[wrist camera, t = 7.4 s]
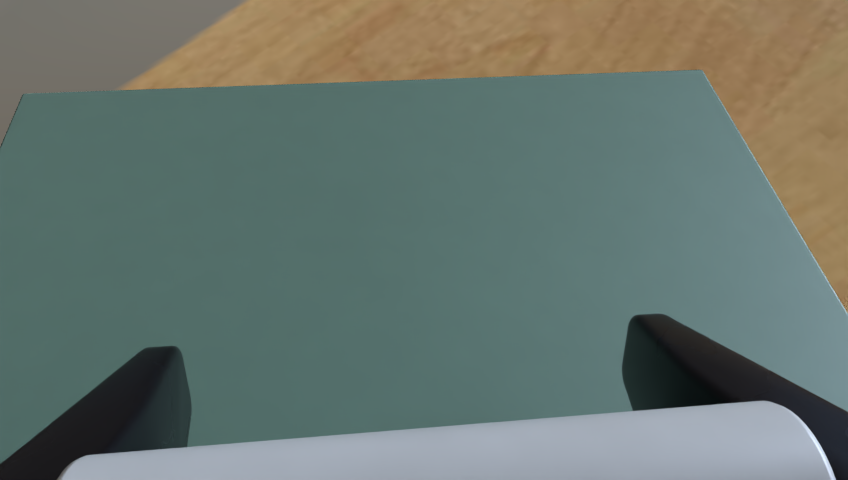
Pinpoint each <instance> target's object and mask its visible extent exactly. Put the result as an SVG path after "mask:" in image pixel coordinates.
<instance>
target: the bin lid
mask: <svg viewBox="0 0 848 480" xmlns="http://www.w3.org/2000/svg"><path fill="white" fill-rule="evenodd" d="M656 313H661V314H665V315H667V316H669V317H671V318H673V319H674V320H676V321H678V322H680V323H682V324H684V325H686V326H688V327H690V328H691V329H693V330H695V331H697V332H699V333H701V334H703V335H705V336H706V337H708V338H710V339H712V340H714V341H716V342H718V343H720V344H721V345H723V346H725V347H727V348H729V349H731V350H733V351H735V352H737V353H738V354H740V355H742V356H744V357H746V358H748V359H750V360H752V361H753V362H755V363H757V364H759V365H761V366H763V367H765V368H767V369H768V370H770V371H772V372H774V373H776V374H778V375H780V376H782V377H784V378H785V379H787V380H789V381H791V382H793V383H795V384H797V385H799V386H800V387H802V388H804V389H806V390H808V391H810V392H812V393H814V394H816V395H817V396H819V397H821V398H823V399H825V400H827V401H829V402H831V403H832V404H834V405H836V406H838V407H840V408H842V409H844V410H846V411H847V412H848V313H847V312H846V310H845V308H844V307H843V305H842V303H841V302H840V300H839V298H838V297H837V295H836V293H835V292H834V290H833V288H832V287H831V285H830V283H829V282H828V280H827V278H826V277H825V275H824V273H823V272H822V270H821V268H820V267H819V265H818V263H817V262H816V260H815V258H814V256H813V255H812V253H811V251H810V250H809V248H808V246H807V245H806V243H805V241H804V240H803V238H802V236H801V235H800V233H799V231H798V230H797V228H796V226H795V225H794V223H793V221H792V220H791V218H790V216H789V215H788V213H787V211H786V210H785V208H784V206H783V205H782V203H781V201H780V200H779V198H778V196H777V194H776V193H775V191H774V189H773V188H772V186H771V184H770V183H769V181H768V179H767V178H766V176H765V174H764V173H763V171H762V169H761V168H760V166H759V164H758V163H757V161H756V159H755V158H754V156H753V154H752V153H751V151H750V149H749V148H748V146H747V144H746V143H745V141H744V139H743V138H742V136H741V134H740V133H739V131H738V129H737V127H736V126H735V124H734V122H733V121H732V119H731V117H730V116H729V114H728V112H727V111H726V109H725V107H724V106H723V104H722V102H721V101H720V99H719V97H718V96H717V94H716V92H715V91H714V89H713V87H712V86H711V84H710V82H709V81H708V79H707V77H706V76H705V74H704V72H703V71H702V70H682V71H654V72H625V73H597V74H569V75H541V76H513V77H484V78H456V79H428V80H400V81H372V82H343V83H315V84H287V85H259V86H231V87H202V88H174V89H146V90H118V91H91V92H63V93H62V92H61V93H33V94H23V95H22V97H21V99H20V102H19V104H18V107H17V109H16V111H15V114H14V116H13V118H12V121H11V123H10V125H9V128H8V130H7V132H6V135H5V137H4V139H3V142H2V144H1V147H0V464H1V463H2V462H3V461H4V460H6V459H7V458H8V457H9V456H11V455H12V454H13V453H14V452H16V451H17V450H18V449H19V448H21V447H22V446H23V445H24V444H26V443H27V442H28V441H29V440H31V439H32V438H33V437H34V436H35V435H37V434H38V433H39V432H40V431H42V430H43V429H44V428H45V427H47V426H48V425H49V424H50V423H52V422H53V421H54V420H55V419H57V418H58V417H59V416H60V415H62V414H63V413H64V412H65V411H66V410H68V409H69V408H70V407H71V406H73V405H74V404H75V403H76V402H78V401H79V400H80V399H81V398H83V397H84V396H85V395H86V394H88V393H89V392H90V391H91V390H93V389H94V388H95V387H96V386H98V385H99V384H100V383H101V382H102V381H104V380H105V379H106V378H107V377H109V376H110V375H111V374H112V373H114V372H115V371H116V370H117V369H119V368H120V367H121V366H122V365H124V364H125V363H126V362H127V361H129V360H130V359H131V358H132V357H133V356H135V355H136V354H137V353H138V352H140V351H141V350H143V349H144V348H147V347H161V346H176V347H178V348H179V349H180V351H181V353H182V356H183V361H184V366H185V371H186V376H187V381H188V385H189V390H190V395H191V405H192V411H191V422H190V429H189V437H188V445H187V447H182V448H170V449H157V450H145V451H132V452H120V453H108V454H95V455H86V456H83V457H81V458H79V459H77V460H75V461H73V462H72V463H70V464H69V465H68V466H67V467H66V468H65V469H64V470H63V471H62V473H61V474H60V476H59V477H58V479H57V480H836V478H835V476H834V473H833V470H832V468H831V466H830V463H829V461H828V459H827V457H826V455H825V453H824V451H823V449H822V447H821V445H820V444H819V442H818V441H817V439H816V438H815V436H814V434H813V433H812V432H811V431H810V429H809V428H808V427H807V425H806V424H805V423H804V422H803V421H802V420H801V419H800V418H799V417H798V416H797V415H795V414H794V413H793V412H792V411H790V410H789V409H787V408H785V407H783V406H781V405H778V404H775V403H772V402H769V401H752V402H739V403H727V404H715V405H702V406H690V407H677V408H665V409H653V410H640V411H633V410H632V406H631V403H630V400H629V397H628V394H627V391H626V388H625V385H624V382H623V377H622V362H623V355H624V349H625V343H626V336H627V330H628V324H629V322H630V320H631V318H632V317H633V316H635V315H642V314H656Z"/></svg>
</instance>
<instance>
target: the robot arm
mask: <svg viewBox="0 0 848 480" xmlns="http://www.w3.org/2000/svg"><path fill="white" fill-rule="evenodd" d="M622 377H623V382H624V385H625V388H626V391H627V394H628V397H629V400H630V403H631V406H632V410H633V411H640V410H653V409H665V408H677V407H690V406H702V405H715V404H727V403H739V402H752V401H769V402H772V403H775V404H778V405H781V406H783V407H785V408H787V409H789V410H790V411H792V412H793V413H794V414H795V415H797V416H798V417H799V418H800V419H801V420H802V421H803V422H804V423H805V424H806V425H807V427H808V428H809V429H810V431H811V432H812V433H813V434H814V436H815V438H816V439H817V441H818V442H819V444H820V445H821V447H822V449H823V451H824V453H825V455H826V457H827V459H828V461H829V463H830V466H831V468H832V470H833V473H834V476H835V478H836V480H848V412H847V411H846V410H844V409H842V408H840V407H838V406H836V405H834V404H832V403H831V402H829V401H827V400H825V399H823V398H821V397H819V396H817V395H816V394H814V393H812V392H810V391H808V390H806V389H804V388H802V387H800V386H799V385H797V384H795V383H793V382H791V381H789V380H787V379H785V378H784V377H782V376H780V375H778V374H776V373H774V372H772V371H770V370H768V369H767V368H765V367H763V366H761V365H759V364H757V363H755V362H753V361H752V360H750V359H748V358H746V357H744V356H742V355H740V354H738V353H737V352H735V351H733V350H731V349H729V348H727V347H725V346H723V345H721V344H720V343H718V342H716V341H714V340H712V339H710V338H708V337H706V336H705V335H703V334H701V333H699V332H697V331H695V330H693V329H691V328H690V327H688V326H686V325H684V324H682V323H680V322H678V321H676V320H674V319H673V318H671V317H669V316H667V315H665V314H661V313H656V314H642V315H635V316H633V317H632V318H631V320H630V322H629V324H628V330H627V336H626V343H625V349H624V355H623V362H622ZM191 411H192V405H191V395H190V390H189V385H188V381H187V376H186V371H185V366H184V361H183V356H182V353H181V351H180V349H179V348H178V347H176V346H161V347H147V348H144V349H143V350H141V351H140V352H138V353H137V354H136V355H135V356H133V357H132V358H131V359H130V360H129V361H127V362H126V363H125V364H124V365H122V366H121V367H120V368H119V369H117V370H116V371H115V372H114V373H112V374H111V375H110V376H109V377H107V378H106V379H105V380H104V381H102V382H101V383H100V384H99V385H98V386H96V387H95V388H94V389H93V390H91V391H90V392H89V393H88V394H86V395H85V396H84V397H83V398H81V399H80V400H79V401H78V402H76V403H75V404H74V405H73V406H71V407H70V408H69V409H68V410H66V411H65V412H64V413H63V414H62V415H60V416H59V417H58V418H57V419H55V420H54V421H53V422H52V423H50V424H49V425H48V426H47V427H45V428H44V429H43V430H42V431H40V432H39V433H38V434H37V435H35V436H34V437H33V438H32V439H31V440H29V441H28V442H27V443H26V444H24V445H23V446H22V447H21V448H19V449H18V450H17V451H16V452H14V453H13V454H12V455H11V456H9V457H8V458H7V459H6V460H4V461H3V462H2V463H1V464H0V480H57V479H58V477H59V476H60V474H61V473H62V471H63V470H64V469H65V468H66V467H67V466H68V465H69V464H70V463H72V462H73V461H75V460H77V459H79V458H81V457H83V456H86V455H95V454H108V453H120V452H132V451H145V450H157V449H170V448H182V447H187V445H188V437H189V429H190V422H191Z"/></svg>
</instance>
